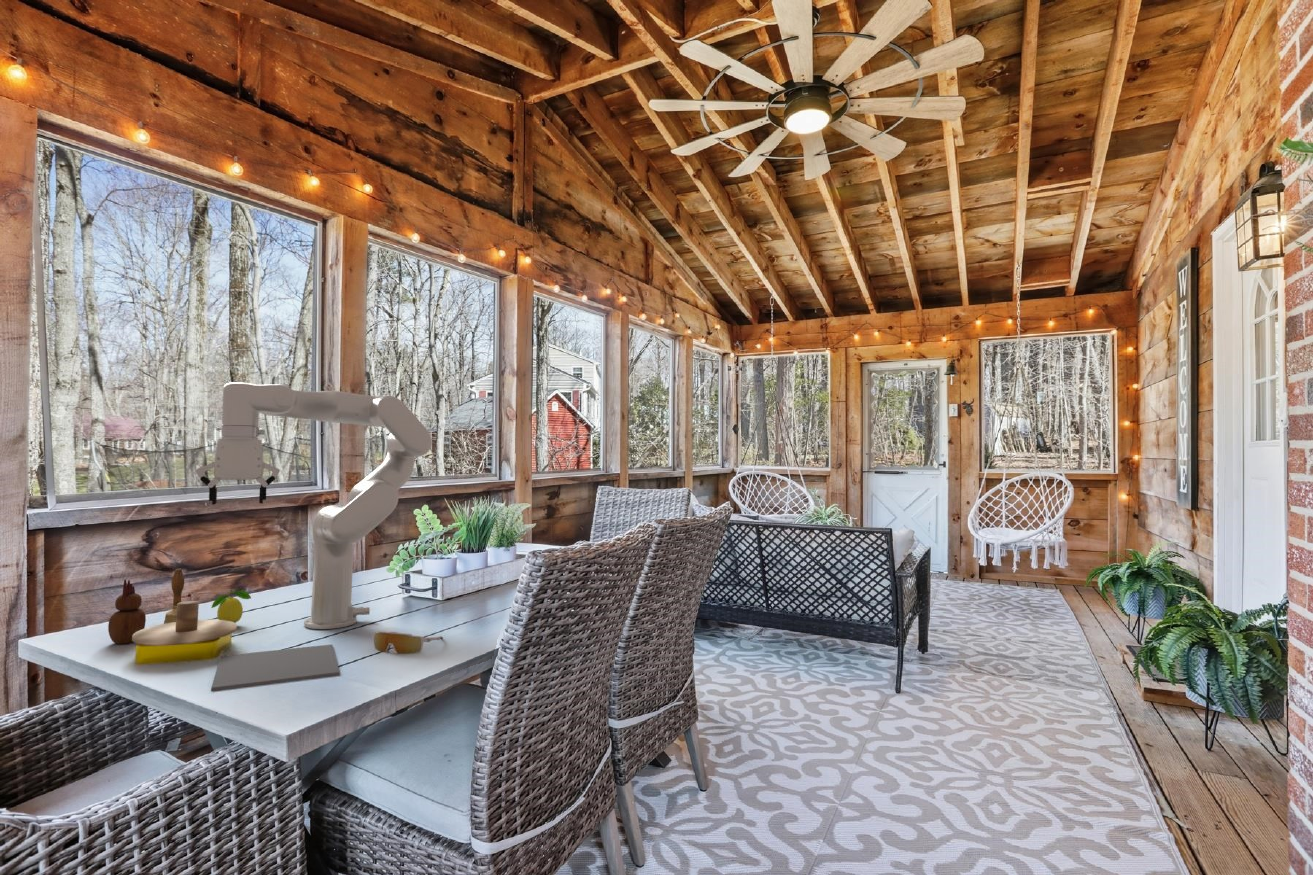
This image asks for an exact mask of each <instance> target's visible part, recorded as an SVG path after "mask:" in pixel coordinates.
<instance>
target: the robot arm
mask: <svg viewBox="0 0 1313 875" xmlns="http://www.w3.org/2000/svg"><path fill="white" fill-rule="evenodd" d="M259 413H261V414H262V415H264V416H272V417H281V418H288V419H289V418H292V419H302V420H311V421H318V422H323V423H326V422H327V423H336V424H337V423H338V424H347V425H348V424H349V425H355V426H356V425H358V426H366V427H376V428H379V427H380V428H381V427H385V429H386V430H387V431H388V432H389V434H388V436H387V439H386V457H385V459H384V460H383V462H382V463H381V464H380V465H378V466H377V467H376V468H375V469H374V470H373V471H372V472H371V473H369V474H368V475H367V476H366V477H364V478H363V479H362V480H360V481H359V482H358V483H356V484H355V485H354V486H353V487H352V488H351V490H350V491H349V494H348V503H347V504H346V505H345V506H344V505H339V504H330V505H328V506H324V507H322V508H321V509H320V510H319V511H318V512H317V513H316V514H315V516H314V519H313V521H312V537H313V566H312V567H313V568H312V569H313V571H312V588H311V589H312V592H311V612H310V617H309V618H308V617H307V618H306V619H305V620H304V621H303V626H304V627H305V628H307V629H311V630H313V629H314V630H331V629H341V628H346V627H350V626H352V625H354V624H356V623H357V620H358V619H357V618H358V617H357V616H359V615H360V616H361V615H362V616H364V615H365V616H367V615H368V616H369V615H370V610H371V609H370V607H369V606H367V607H366V606H365V607H364V606H359V607H358V606H357V607H356V606H353V603H352V595H353V594H352V592H353V591H352V590H353V588H352V587H353V569H354V545H353V544H355V543H357V542H359V541H361V540H362V539H363V538H365V537H366V536H367V535H368V534H369V533H370V532H372V531H373V530H374V529H375V528H376V527H377V526H379V525H380V524H381V523H382V522H383V521H384V520H386V518H388V517H389V516H390V515H391V514H392V513H393V512H394V511H395V509H396V508H397V505H398V502H399V492H398V491H399V490H400V489H402V487H403V486H404V485H405V484H406V483H407V482H408V481H409V479H410V478H411V476H412V474H413V472H414V468H415V458H417V457H418V458H419V457H422V456H425V455H426V454H428V453H429V451H430V450H431V448H432V445H433V439H432V435H431V433H430V431H429V430H428V429H427V428H426V427H425V425H424V424H423V423H422V422H421V421H420V419H418V417H417V416H416V415H415V414H414V413H413V412H412V410H410V408H409V407H408V406H407V405H406V404H405V403H404V402H403V401H402V400H400V398H398V397H396V396H394V395H383V396H377V395H369V394H362V393H361V394H359V393H353V392H347V391H346V392H345V391H339V390H321V391H306V390H296V389H295V390H294V389H293V388H291V387H289V386H287V385H285V384H254V383H250V382H249V383H248V382H229V383H226V384H224V386H223V388H222V414H221V416H222V417H221V438H218V439H217V442H216V446H215V452H214V461H213V462H210V463H207V464H206V465H204V466H201V467H198V468H196V469H195V472H196V475H197V476H198V478H199V479H200V481H201V482H202V483H204V484H205V485H206V486H207V487H208V488H209V490H208V491H209V492H208V501H209V502H211V505H213V506H214V505H217V501H218V500H217V499H218V498H217V497H218V487H217V484H218V483H219V482H220V481H225V480H226V481H232V480H233V481H239V480H240V481H241V480H242V481H243V480H244V481H245V480H246V481H247V480H249V481H250V480H251V481H252V480H253V481H254V480H256V481H257V482H258V483H259V484H260V487H259V495H258V496H259V498H258V500H259V501H258V503H259V504H263V503H264V502H263V501H266V500H267V487H268V486H270V484H271V483H273V482H274V481H275V480H276V478H277V476H278V475H279V474H280V472H281V470H280V469H279V468H278V467H275V466H273V465H271V464H268V463H266V462H265V461H264V446H263V441H262V439H259V437H260V436H264V435H266V434H265V433H266V430H265V429H262V428H260V427H259V420H260V417H259V416H260V414H259ZM211 469H213V477H214V478H213V479H212V480H210V479H209V477H207V475H206V474H205V472H207V471H209V470H211ZM264 469H265V470H268V471H270V472H271V473H272V474H271V475H270V476H269V477H268V478H267V479H266V480H265V478H264V477H263V476H264Z"/></svg>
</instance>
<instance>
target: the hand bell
mask: <svg viewBox="0 0 1313 875" xmlns="http://www.w3.org/2000/svg"><path fill="white" fill-rule="evenodd" d="M184 587H185V576H184V572H183V570H182V568H176V569H174V573H173V575H172V578H171V591H172V593H173V600H172V609H171V610H169V611H167V612H166V613H165V617H164V620H163V624H166V623H173V622H176V613H177V603H180V602H182V593H183V590H184Z"/></svg>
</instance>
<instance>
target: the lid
mask: <svg viewBox="0 0 1313 875" xmlns="http://www.w3.org/2000/svg"><path fill="white" fill-rule="evenodd" d="M199 604H200V601H196V600H188V601H186V600H185V601H181V602H180V603H177V613H176V622H173V623H166V624H164V623H162V624H161V623H160V624H157V625H153V626H147V627H145V628H144V629H142V630H139V631H137V632H135V633H134V634H133V635H132V641H133V642H132V643H135V644H143V645H179V644H189V643H196V642H202V641H208V640H212V639H217V638H220V637H224V636H227V635H229V634H231V633H232V634H233V633H235V632H236V631H237V628H238V627H237V624H236V623H237V622H236V623H234V622H231V621H226V620H218V619H199V609H200V608H199V606H200V605H199Z"/></svg>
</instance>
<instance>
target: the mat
mask: <svg viewBox="0 0 1313 875" xmlns="http://www.w3.org/2000/svg"><path fill="white" fill-rule="evenodd" d="M339 668H340V667H339V665H338V660H337V657H336V652H335V649H334V645H333V644H331V643H330V644H324V645H323V644H322V645H315V646H305V647H295V648H284V649H275V650H266V651H265V650H263V651H255V652H245V653H235V654H225V655H220V657H219V661H218V664H217V668H216V671H215V675H214V677H213V681H212V684H211V686H210V688H211V690H210V692H212V691H221V690H228V689H237V688H246V687H253V686H261V685H270V684H277V683H278V684H279V683H286V682H292V681H301V680H308V679H310V680H311V679H317V678H323V677H324V678H325V677H333V676H334V677H335V676H340V674H341V673H340V669H339Z"/></svg>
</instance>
